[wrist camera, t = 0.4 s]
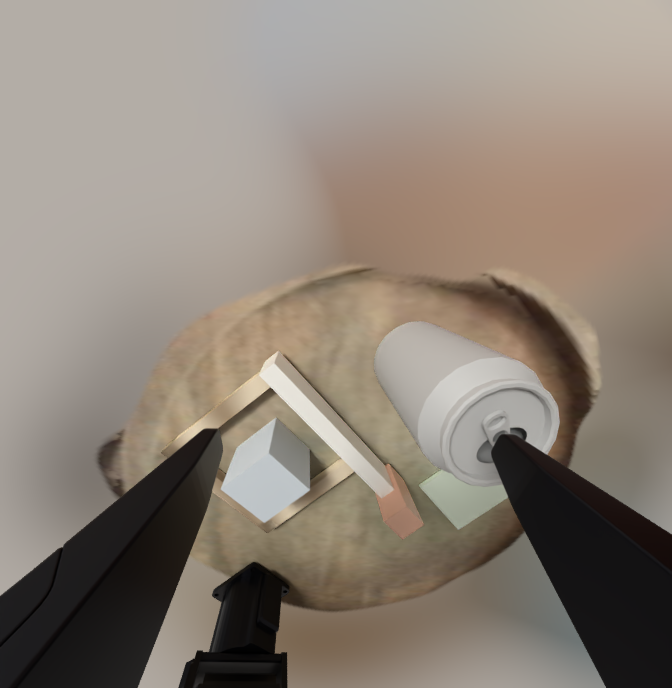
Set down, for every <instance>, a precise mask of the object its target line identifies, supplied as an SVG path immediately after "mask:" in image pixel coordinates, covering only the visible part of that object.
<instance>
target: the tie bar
mask: <svg viewBox="0 0 672 688" xmlns="http://www.w3.org/2000/svg"><path fill="white" fill-rule="evenodd" d="M259 376H260V377H261V378H262V379H263V380H264V381H265V382H266V383H267V384H268V385H269V386H270V387H271V388H272V389H273V390H274V391H275V392H276V393H277V394H278V395H279V396H280V397H281V398H282V399H283V400H284V401H285V402H286V403H287V404H288V405H289V406H290V407H291V408H292V409H293V410H294V411H295V412H296V413H297V414H298V415H299V416H300V417H301V418H302V419H303V420H304V421H305V422H306V423H307V424H308V425H309V426H310V427H311V428H312V429H313V430H314V431H315V432H316V433H317V434H318V435H319V436H320V437H321V438H322V439H323V440H324V441H325V442H326V443H327V444H328V445H329V446H330V447H331V448H332V449H333V450H334V451H335V452H336V453H337V454H338V455H339V456H340V457H341V458H342V459H343V460H344V461H345V462H346V463H347V464H348V465H349V466H350V467H351V468H352V469H353V470H354V471H355V472H356V473H357V474H358V475H359V476H360V477H361V478H362V479H363V480H364V481H365V482H366V483H367V484H368V485H369V486H370V487H371V488H372V489H373V490H374V491H375V494H376V497H377V500H378V504H379V507H380V510H381V514H382V517H383V520H384V522H385V523H386V524H387V525H388V526H389V527H390V528H391V529H392V530H393V531H394V532H395V533H396V534H397V535H398V536H399V537H400V538H401V539H404V538H405V537H407V536H408V535H410V534H411V533H413V532H414V531H416V530H417V529H419V528H420V527H422V526H423V525H424V523H423V521H422V519H421V517H420V515H419V512H418V510H417V508H416V506H415V504H414V501H413V499H412V497H411V495H410V493H409V490H408V488H407V486H406V484H405V482H404V480H403V479H402V478H401V476H400V475H399V474H398V473H397V472H396V471H395V470H394V469H393V468H392V467H391V465H390V464H389V463H388V464H387V465H384V464H383V463H382V462H381V461H380V460H379V459H378V458H377V456H376V455H375V454H374V453H373V452H372V451H371V450H370V449H369V448H368V447H367V446H366V445H365V444H364V442H363V441H362V440H361V439H360V438H359V437H358V436H357V435H356V434H355V433H354V432H353V431H352V429H351V428H350V427H349V426H348V425H347V424H346V423H345V422H344V421H343V420H342V419H341V418H340V416H339V415H338V414H337V413H336V412H335V411H334V410H333V409H332V408H331V407H330V406H329V405H328V403H327V402H326V401H325V400H324V399H323V398H322V397H321V396H320V395H319V394H318V393H317V392H316V391H315V389H314V388H313V387H312V386H311V385H310V384H309V383H308V382H307V381H306V380H305V379H304V378H303V376H302V375H301V374H300V373H299V372H298V371H297V370H296V369H295V368H294V367H293V366H292V365H291V363H290V362H289V361H288V360H287V359H286V358H285V357H284V356H283V355H282V354H281V353H280V352H279V351H277V352H276V353H275V354H274V355H272V356H271V357H270V358H269V359H267V360H266V361H265V363H264V365H263V367H262V369H261V372H260V374H259Z"/></svg>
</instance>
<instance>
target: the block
mask: <svg viewBox="0 0 672 688" xmlns="http://www.w3.org/2000/svg"><path fill="white" fill-rule="evenodd" d="M221 490H222V491H223V492H225V493H226V494H227V495H229V496H230V497H231V498H232V499H234V500H235V501H236V502H238V503H239V504H240V505H242V506H243V507H244V508H245V509H247V510H248V511H249V512H251V513H252V514H253V515H255V516H256V517H257V518H258V519H260V520H261V521H262V522H264V523H265V522H266V521H268V520H269V519H271V518H272V517H273V516H275V515H276V514H278V513H279V512H280V511H282V510H283V509H285V508H286V507H287V506H289V505H290V504H291V503H293V502H294V501H296V500H297V499H298V498H300V497H301V496H303V495H304V494H305V493H307V492H308V491H310V449H309V448H308V447H307V446H306V445H305V444H304V443H303V442H302V441H300V440H299V439H298V438H297V437H296V436H295V435H294V434H293V433H292V432H291V431H290V430H289V429H288V428H287V427H286V426H285V425H284V424H283V423H282V422H281V421H280V420H279V419H278V418H277V417H276V418H275V419H273V420H272V421H271V422H269V423H268V424H267V425H265V426H264V427H263V428H262V429H260V430H259V431H258V432H256V433H255V434H254V435H252V436H251V437H250V438H249V439H247V440H246V441H245V442H243V443H242V444H241V445H239V446H238V447H237V449H236V451H235V454H234V456H233V459H232V461H231V464H230V467H229V469H228V472H227V474H226V477H225V479H224V482H223V484H222V487H221Z"/></svg>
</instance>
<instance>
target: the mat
mask: <svg viewBox="0 0 672 688" xmlns="http://www.w3.org/2000/svg"><path fill="white" fill-rule="evenodd" d="M419 486H420V488H421V489H422V490H423V491H424V492H425V493H426V495H427V496H428V497H429V498H430V499H431V500H432V501H433V502H434V503H435V505H436V506H437V507H438V508H439V509H440V510H441V511H442V512H443V514H444V515H445V516H446V517H447V518H448V519H449V520H450V521H451V522H452V524H453V525H454V526H455V527H456V528H457V529H458V530H459V529H461V528H462V527H464V526H465V525H467V524H468V523H470V522H471V521H473V520H474V519H476V518H477V517H479V516H481V515H482V514H484V513H485V512H487V511H488V510H490V509H491V508H493V507H494V506H496V505H497V504H499V503H500V502H502V501H503V500H505V499H507V498H508V496H507V493H506V491H505V488H504V486H503V485H496V486H489V487H482V486H474V485H469V484H467V483H465V482H463V481H461V480H459V479H457V478H455V477H454V475H453V474H452V473H448V472H446V471H444V470H442V469H441V470H440V471H438V472H437V473H435V474H434V475H432V476H431V477H430V478H428V479H427V480H425V481H424V482H422V483H421V484H419Z"/></svg>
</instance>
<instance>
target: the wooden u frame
mask: <svg viewBox="0 0 672 688" xmlns="http://www.w3.org/2000/svg"><path fill="white" fill-rule="evenodd" d="M260 372H261V371H259V372H258V373H257V374H256V375H254V376H253V377H252V378H251V379H249V380H248V381H247V382H246V383H244V384H243V385H242V386H241V387H239V388H238V389H237V390H235V391H234V392H233V393H232V394H230V395H229V396H228V397H227V398H225V399H224V400H223V401H222V402H220V403H219V404H218V405H217V406H215V407H214V408H213V409H212V410H210V411H209V412H208V413H207V414H205V415H204V416H203V417H202V418H200V419H199V420H198V421H196V422H195V423H194V424H193V425H191V426H190V427H189V428H188V429H186V430H185V431H184V432H183V433H181V434H180V435H179V436H178V437H176V438H175V439H174V440H173V441H171V442H170V443H169V444H168V445H166V447H165V448H164V449H163V450H162V452H161V453H162V454H163V455H164V456H166V457H167V458H169V457H170V456H171V455H172V454H174V453H175V452H176V451H177V450H178V449H180V448H181V447H182V446H183V445H184V444H186V443H187V442H188V441H189V440H190V439H192V438H193V437H194V436H195V435H196V434H198V433H199V432H200V431H201V430H203V429H205V428H217V429H218V428H219V427H220V426H221V425H223V424H224V423H225V422H227V421H228V420H229V419H230V418H232V417H233V416H234V415H235V414H237V413H238V412H239V411H241V410H242V409H243V408H244V407H246V406H247V405H248V404H250V403H251V402H252V401H253V400H255V399H256V398H257V397H258V396H260V395H261V394H262V393H264V392H265V391H266V390H267V389H269V388H270V386H269V385H268V384H267V383H266V382H265V381H264V380H263V379H262V378H261V377H260V376H259V374H260ZM353 472H355V471H354V470H353V469H352V468H351V467H350V466H349V465H348V464H347V463H346V462H345V461H344V460H343V459H342V458H340V459H339V460H338V461H336V462H335V463H333V464H332V465H331V466H329V467H328V468H327V469H325V470H324V471H322V472H321V473H320V474H318V475H317V476H315V477H314V478H313V479H311V480H310V491H308V492H307V493H305V494H304V495H303V496H301V497H300V498H298V499H297V500H296V501H294V502H293V503H291V504H290V505H289V506H287V507H286V508H285V509H283V510H282V511H280V512H279V513H278V514H276V515H275V516H273V517H272V518H271V519H269V520H268V521H266V522H265V523H264V522H262V521H261V520H260V519H258V518H257V517H256V516H255V515H253V514H252V513H251V512H249V511H248V510H247V509H245V508H244V507H243V506H242V505H240V504H239V503H238V502H236V501H235V500H234V499H232V498H231V497H230V496H229V495H227V494H226V493H225V492H223V491H222V490H221V487H222V484H223V482H224V479H225V477H226V474H225V473H224V472H222V471H221V470H220V469H219V468H218V472H217V475H216V479H215V482H214V486H213V490H212V492H213V493H215V494H216V495H217V496H219V497H220V498H221V499H223V500H224V501H225V502H226V503H228V504H229V505H230V506H232V507H233V508H234V509H236V510H237V511H238V512H240V513H241V514H242V515H244V516H245V517H246V518H248V519H249V520H250V521H252V522H253V523H254V524H256V525H257V526H258V527H260V528H261V529H262V530H264V531H265V532H266V533H269V532H270V531H272V530H273V529H275V528H276V527H277V526H279V525H280V524H282V523H283V522H284V521H286V520H287V519H289V518H290V517H291V516H293V515H294V514H296V513H297V512H298V511H300V510H301V509H303V508H304V507H305V506H307V505H308V504H310V503H311V502H312V501H314V500H315V499H317V498H318V497H319V496H321V495H322V494H324V493H325V492H326V491H328V490H329V489H331V488H332V487H334V486H335V485H336V484H338V483H339V482H341V481H342V480H343V479H345V478H346V477H348V476H349V475H350V474H352V473H353Z"/></svg>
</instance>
